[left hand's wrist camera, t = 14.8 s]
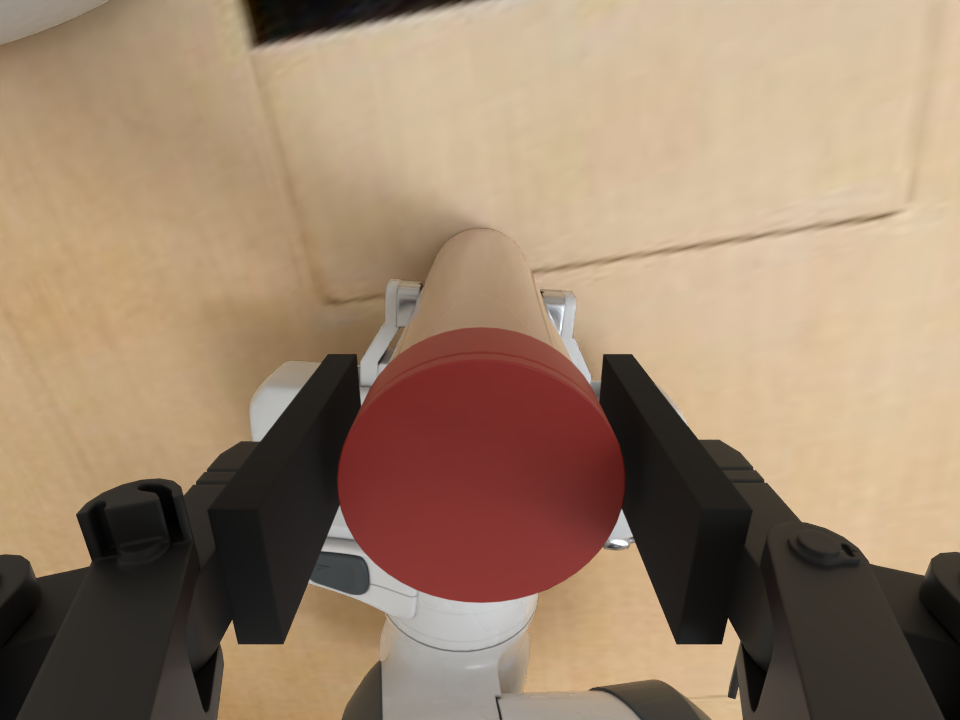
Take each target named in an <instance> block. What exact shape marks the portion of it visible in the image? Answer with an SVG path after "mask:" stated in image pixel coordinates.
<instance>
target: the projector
mask: <svg viewBox="0 0 960 720" xmlns="http://www.w3.org/2000/svg"><path fill="white" fill-rule="evenodd" d="M108 1H110V0H0V45H2V44H5V43H9V42H12V41H15V40H18V39H21V38H24V37H27V36H30V35H33V34H36V33H39V32H41V31H44V30H46V29H49V28H52V27H54V26H56V25H59V24H61V23H64V22H66V21H69V20H71V19H74V18H76V17H78V16H80V15H82V14H84V13H86V12H88V11H90V10H92V9H95V8H97V7H99V6H100V5H102V4H104V3H106V2H108Z"/></svg>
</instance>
